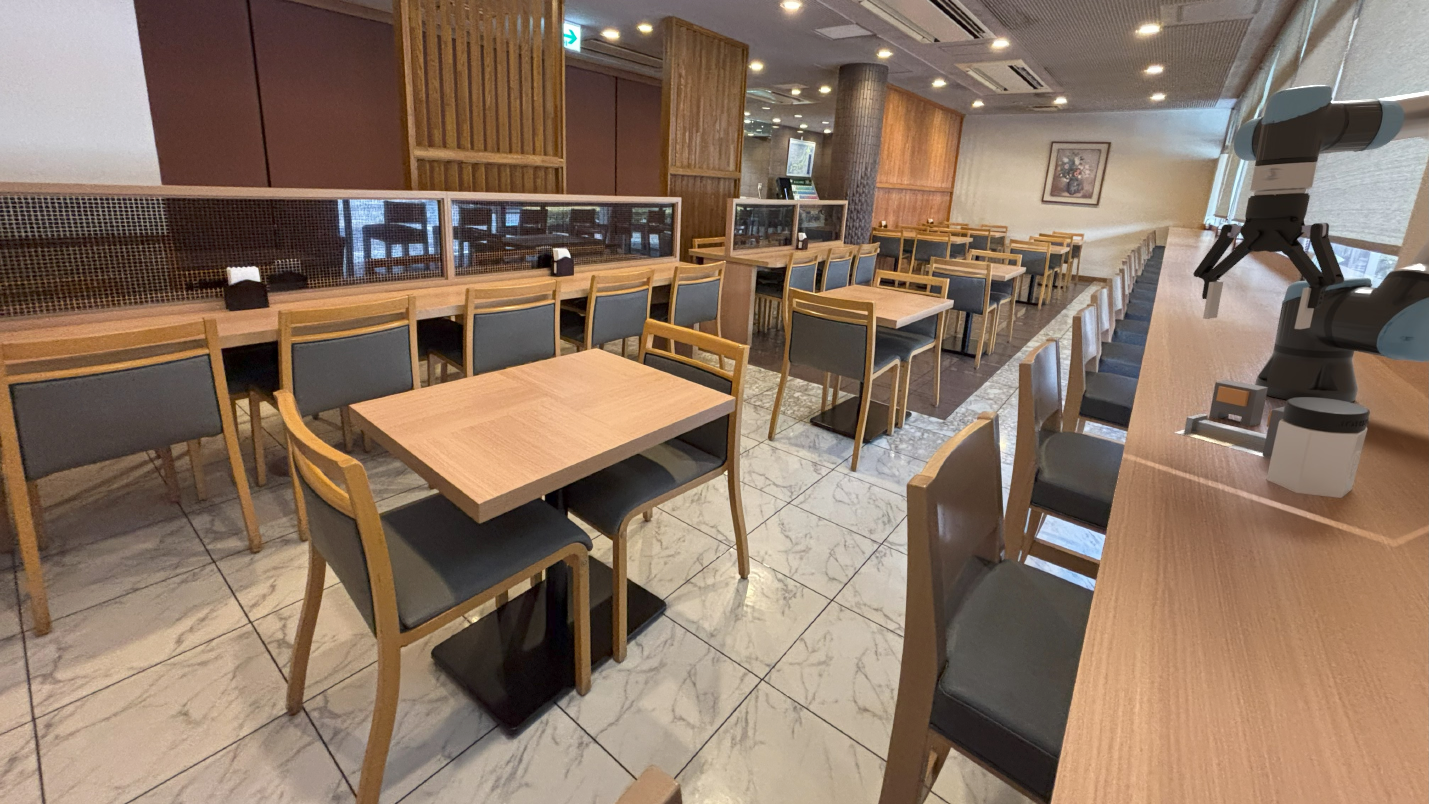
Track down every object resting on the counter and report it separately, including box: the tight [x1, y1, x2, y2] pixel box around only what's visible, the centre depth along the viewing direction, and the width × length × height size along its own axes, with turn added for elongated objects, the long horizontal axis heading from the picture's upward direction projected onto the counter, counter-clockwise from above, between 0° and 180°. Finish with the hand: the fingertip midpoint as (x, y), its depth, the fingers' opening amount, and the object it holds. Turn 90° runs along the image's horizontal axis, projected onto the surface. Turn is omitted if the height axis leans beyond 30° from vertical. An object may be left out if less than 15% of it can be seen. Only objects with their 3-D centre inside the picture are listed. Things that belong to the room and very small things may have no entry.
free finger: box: [1208, 379, 1268, 428], centre depth 111 cm, size 4×6×7 cm, turn 23°
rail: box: [1173, 413, 1271, 460], centre depth 100 cm, size 9×20×3 cm, turn 23°
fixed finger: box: [1263, 405, 1285, 456], centre depth 96 cm, size 4×6×7 cm, turn 113°
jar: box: [1266, 397, 1371, 499], centre depth 84 cm, size 9×8×12 cm
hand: (1253, 323), depth 107 cm, fingers open, 13 cm apart
